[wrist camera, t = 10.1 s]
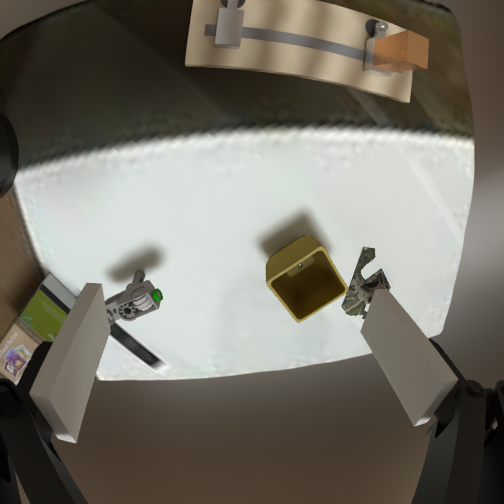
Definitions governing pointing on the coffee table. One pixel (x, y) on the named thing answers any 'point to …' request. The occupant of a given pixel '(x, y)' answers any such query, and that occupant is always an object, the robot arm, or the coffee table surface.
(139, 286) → the mechanical component
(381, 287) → the eiffel tower figurine
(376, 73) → the slide leg
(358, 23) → the gauge board
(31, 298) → the tea box
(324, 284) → the flower pot
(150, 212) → the coffee table surface
